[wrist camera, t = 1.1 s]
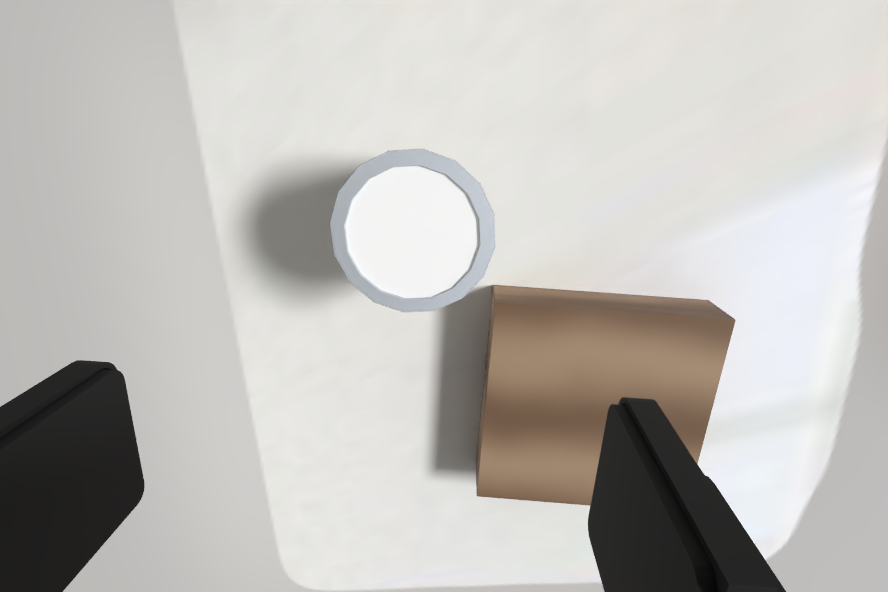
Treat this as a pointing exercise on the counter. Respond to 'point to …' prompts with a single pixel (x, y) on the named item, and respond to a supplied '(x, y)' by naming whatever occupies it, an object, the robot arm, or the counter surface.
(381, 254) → the white and grey cylinder
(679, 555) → the robot arm
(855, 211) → the counter surface
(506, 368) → the walnut base
